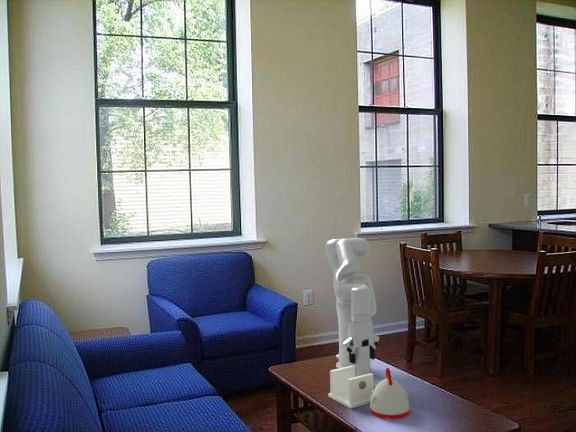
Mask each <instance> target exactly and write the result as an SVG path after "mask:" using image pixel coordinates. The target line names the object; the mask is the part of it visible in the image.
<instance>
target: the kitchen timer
mask: <svg viewBox="0 0 576 432" xmlns="http://www.w3.org/2000/svg"><path fill="white" fill-rule="evenodd" d="M391 372H392V371H391V369H390V368H389V367H386V369H385V378H384V379H382V380H381V381H379V382H378V383H377V385H376V386H374V387H375V388H374V391H371V397H370V403H369V413H370V414H371V415H372V416H374V417H377V418H379V419H383V420H400V419H403V418H406V417H407V416H409V414H410V404H409V396H408V394H407V391H406V389H404V387H402V385H401V384H400V383H399V382H398V381H397V380H395V379H394V378H392V375H391Z"/></svg>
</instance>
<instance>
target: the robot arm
mask: <svg viewBox="0 0 576 432" xmlns="http://www.w3.org/2000/svg"><path fill="white" fill-rule="evenodd" d="M369 253H370V245H369V242H368V240H367V239H366V238H363V237H362V238H361V237H349V238H347V237H346V238H345V237H343V238H333V239H330V240H328V241H327V242H326V244H325V255H326V258H327V261H328V263H329V265H330V267H331V270H332V271H333V272H332V273H333V281H332V283H333V290H334V295H335V299H336V300H335V301H336V302H335V306H336V307H335V308H336V313H337V314H336V315H337V320H338V345H339V346H338V348H339V349H338V351H339V352H338V354H336V356H335V357H336V358H337V359H338V362H336V364H335V367H336V369H339V368H343V367H348V366H352V365H354V364H355V363H356V361H355V353H354V352H355V350H356V348H360V347H361V345H362V341H364V340H367V339H369V349H370V360H376V358H375V357H376V355H375V354H376V351H375V350H376V349H377V346H378V344H379V340H380V336H378V335H376V334H374V333H375V332H374V325H373V321H372V320H371V319H372V317H373V316H374V315H376V314H377V309H378V308H377V302H376V301H377V300H376V297H375V292H374V289H373V283H372V279H371V278H370V277H369V276H368V275H367V274H356V273H358V272H359V270H360V267H361V264H360V260H359V258H366V257H368V256H369Z"/></svg>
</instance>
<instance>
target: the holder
mask: <svg viewBox="0 0 576 432" xmlns="http://www.w3.org/2000/svg"><path fill="white" fill-rule="evenodd" d="M374 374H375V373H373V372H370V374H366V375H362V376H358V377H355V366H354V365H352V366H348V367H343V368H339V369H338V368H335V369H331V370H329V380H330V381H329V383H330V385H329V386H330V390H329V391H330V392H329V393H327V395H328V396H327V397H328V398H330V399H332V400H334V401H335V402H337V403H339V404H341V405H343V406H345V407H346V408H349V409H351V410H352V409H353V408H357V407H361V406H365V405H368V404H369V405H370V397H371V391H374V389H375V388H374V387H375V384H374V381H375V380H374V376H375V375H374Z"/></svg>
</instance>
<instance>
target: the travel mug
mask: <svg viewBox="0 0 576 432" xmlns="http://www.w3.org/2000/svg"><path fill="white" fill-rule="evenodd" d="M369 348H370V347H369V339H367V340H364V341H362V345H361V347H360V348H356V350H355V352H354V353H355V361H356V363H355V364H354V366H355V377H358V376H362V375H366V374H370V373H371V364H370V363H371V359H370V349H369Z"/></svg>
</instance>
